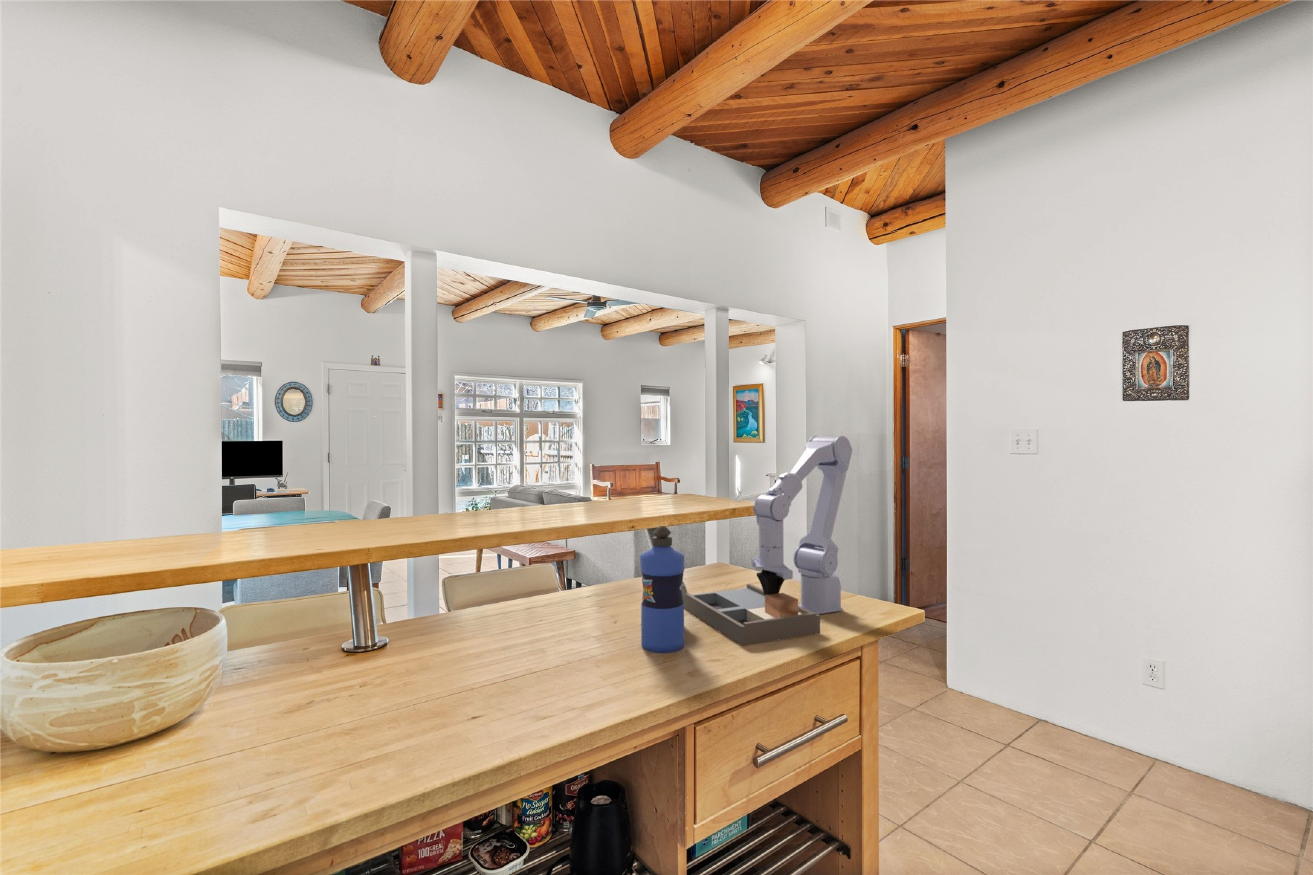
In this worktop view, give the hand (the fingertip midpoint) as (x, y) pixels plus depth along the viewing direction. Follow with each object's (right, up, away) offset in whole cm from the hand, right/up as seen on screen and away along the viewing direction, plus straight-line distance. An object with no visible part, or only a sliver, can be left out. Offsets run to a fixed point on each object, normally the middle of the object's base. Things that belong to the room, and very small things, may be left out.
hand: (771, 603), depth 142 cm
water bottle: (-26, -5, -15) cm, 30 cm away
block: (+1, -1, -4) cm, 5 cm away
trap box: (-6, -4, +2) cm, 7 cm away
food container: (-23, -5, -3) cm, 24 cm away
